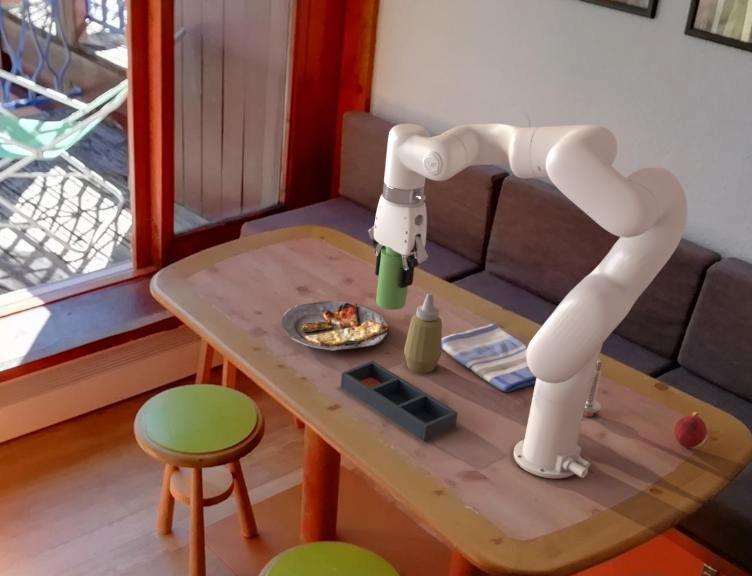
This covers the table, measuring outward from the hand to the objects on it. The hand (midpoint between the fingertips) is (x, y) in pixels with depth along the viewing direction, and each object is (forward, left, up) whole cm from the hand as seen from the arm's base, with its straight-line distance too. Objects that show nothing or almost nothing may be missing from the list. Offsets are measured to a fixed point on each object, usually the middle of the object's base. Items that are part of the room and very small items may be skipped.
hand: (393, 278), depth 206 cm
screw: (-29, -31, -28) cm, 51 cm away
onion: (-48, -37, -28) cm, 66 cm away
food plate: (+27, -11, -28) cm, 41 cm away
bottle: (0, 0, -5) cm, 5 cm away
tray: (-5, 0, -28) cm, 28 cm away
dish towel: (-4, -32, -28) cm, 43 cm away
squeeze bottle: (+4, -16, -28) cm, 32 cm away
